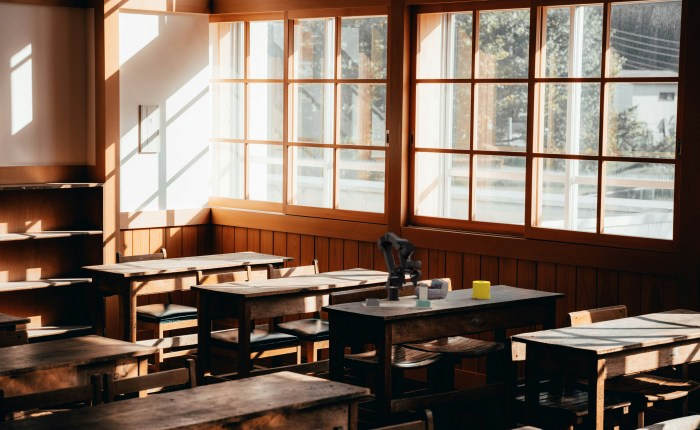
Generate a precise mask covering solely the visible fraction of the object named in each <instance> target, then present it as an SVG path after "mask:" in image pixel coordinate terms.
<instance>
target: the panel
mask: <svg viewBox="0 0 700 430" xmlns="http://www.w3.org/2000/svg"><path fill="white" fill-rule="evenodd" d="M362 305H363V307H365V308H366V307H369V308H371V307H372V308H373V307H374V308H375V307H376V308H377V307H378V308H380V307H381V308H387V307H389V308H406V310H415V309H416V310H419V309H420V310H432V309H433V306H432V305H431V301H430V299H427V301H419V299H416V300H415V303H381V302H380V299H379V298H365V303H363V302H362Z"/></svg>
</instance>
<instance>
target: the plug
mask: <svg viewBox="0 0 700 430" xmlns="http://www.w3.org/2000/svg"><path fill="white" fill-rule="evenodd" d="M428 286H429V285H428V283H419V287H420V288H419V297H418V300H419V301H427V300H428V299H427V293H428Z"/></svg>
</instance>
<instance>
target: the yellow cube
mask: <svg viewBox="0 0 700 430" xmlns="http://www.w3.org/2000/svg"><path fill="white" fill-rule="evenodd" d="M472 298H473V299H475V298H477V299H476V300H489V299H491V282H490V281H486V280H474V281H472Z"/></svg>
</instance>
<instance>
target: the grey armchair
mask: <svg viewBox="0 0 700 430" xmlns="http://www.w3.org/2000/svg"><path fill="white" fill-rule="evenodd" d="M413 287H414V286H413ZM419 288H420V286H417V287H416V288H415V287H414V289H413V290H414V293H415V295H414V296H415V297H417V298H419ZM448 292H449V282H448V281H443V280H441V279H439V278H433V279H432V280H431V281H430V285H428V293H427V300H434V299H441V298H443V297H444V298H445V297H447V296H448Z"/></svg>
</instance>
